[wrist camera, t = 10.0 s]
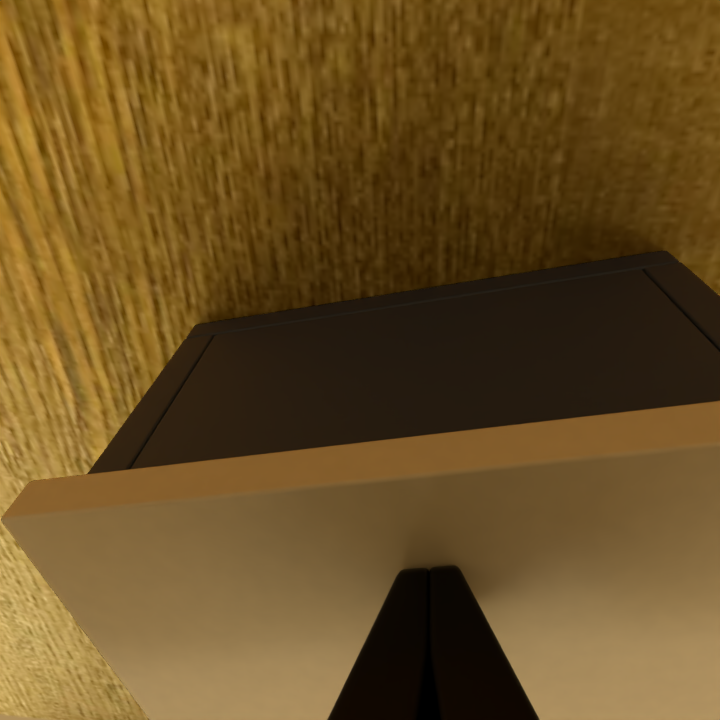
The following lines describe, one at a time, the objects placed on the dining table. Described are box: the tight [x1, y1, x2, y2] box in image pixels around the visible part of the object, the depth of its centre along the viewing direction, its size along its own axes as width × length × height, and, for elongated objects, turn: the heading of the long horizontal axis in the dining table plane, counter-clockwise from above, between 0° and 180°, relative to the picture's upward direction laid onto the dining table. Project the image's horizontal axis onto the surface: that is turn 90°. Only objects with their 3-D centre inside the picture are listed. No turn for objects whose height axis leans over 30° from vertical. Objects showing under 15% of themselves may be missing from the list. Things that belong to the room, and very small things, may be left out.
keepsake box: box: [88, 251, 720, 474], centre depth 15 cm, size 15×12×6 cm
